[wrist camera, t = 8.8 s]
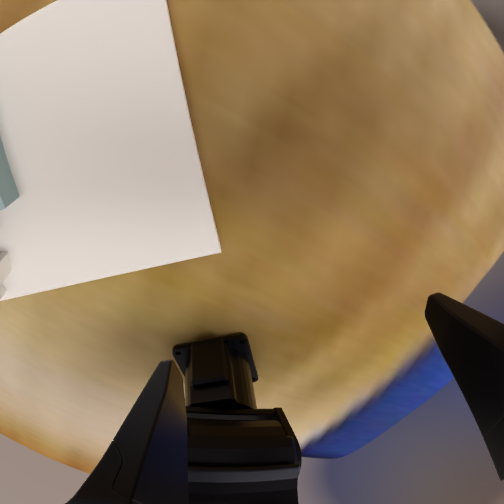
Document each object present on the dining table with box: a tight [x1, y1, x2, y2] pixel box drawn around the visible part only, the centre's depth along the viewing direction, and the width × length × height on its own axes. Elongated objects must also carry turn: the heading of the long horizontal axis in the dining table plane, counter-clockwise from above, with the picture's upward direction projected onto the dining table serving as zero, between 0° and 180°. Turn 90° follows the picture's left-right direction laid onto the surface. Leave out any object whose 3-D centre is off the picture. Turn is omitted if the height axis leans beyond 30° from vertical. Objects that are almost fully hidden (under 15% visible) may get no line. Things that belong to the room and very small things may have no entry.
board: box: [0, 0, 221, 301], centre depth 16 cm, size 19×24×1 cm
